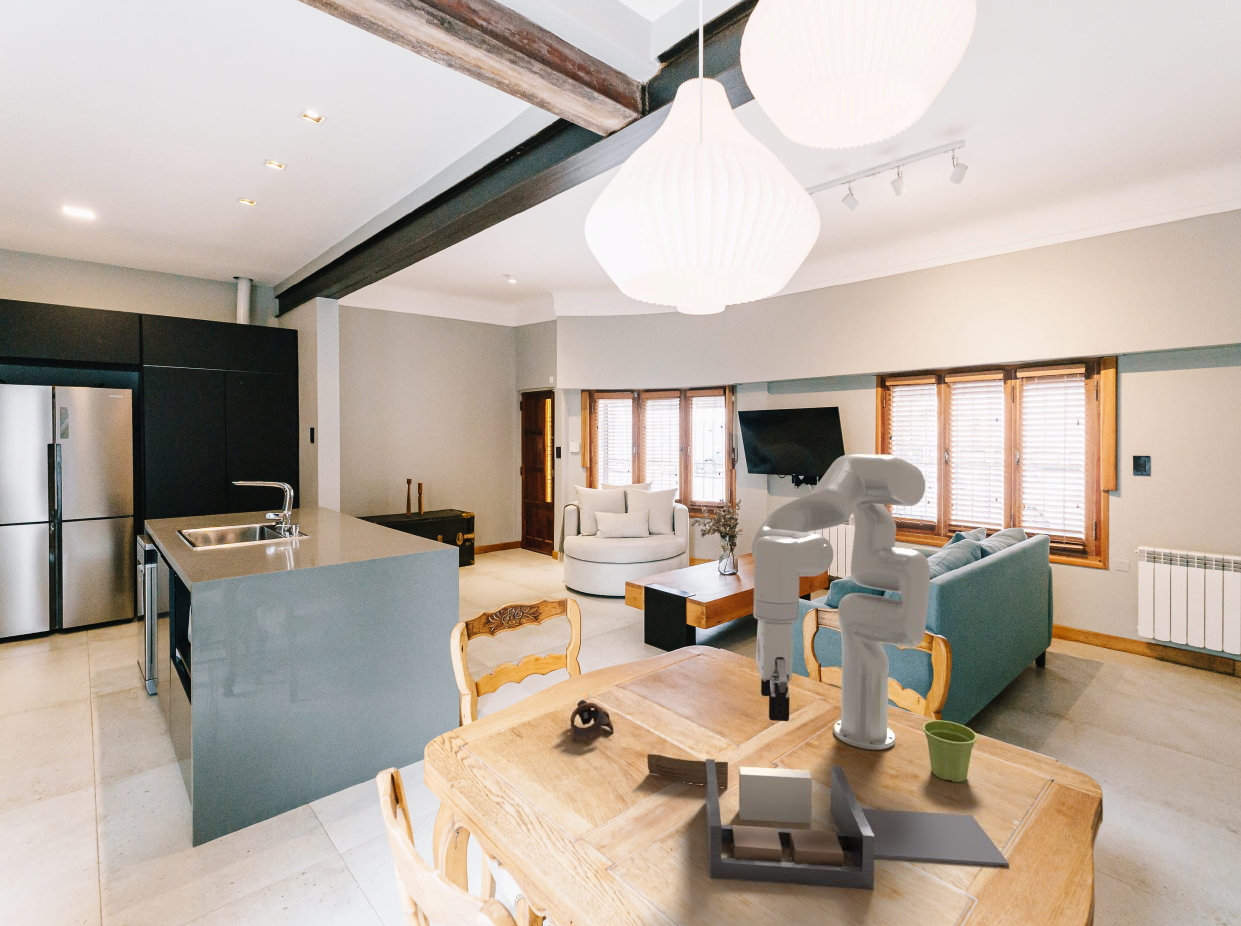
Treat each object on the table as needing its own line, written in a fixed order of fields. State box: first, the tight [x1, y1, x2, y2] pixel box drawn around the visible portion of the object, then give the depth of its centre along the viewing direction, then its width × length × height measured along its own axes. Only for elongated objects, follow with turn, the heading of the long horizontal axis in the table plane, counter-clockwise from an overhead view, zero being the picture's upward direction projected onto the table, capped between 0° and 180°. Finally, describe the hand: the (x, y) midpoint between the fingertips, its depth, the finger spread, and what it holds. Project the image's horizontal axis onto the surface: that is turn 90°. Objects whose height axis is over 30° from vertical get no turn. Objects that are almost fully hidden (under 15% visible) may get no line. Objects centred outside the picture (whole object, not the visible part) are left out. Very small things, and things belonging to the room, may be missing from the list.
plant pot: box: [922, 719, 978, 783], centre depth 119 cm, size 9×9×9 cm
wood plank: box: [646, 753, 729, 789], centre depth 116 cm, size 15×2×5 cm, turn 76°
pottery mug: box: [569, 699, 615, 742], centre depth 135 cm, size 12×10×8 cm
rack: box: [705, 758, 875, 890], centre depth 99 cm, size 19×24×8 cm
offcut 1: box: [731, 824, 783, 862], centre depth 94 cm, size 5×7×4 cm
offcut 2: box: [788, 828, 844, 866], centre depth 93 cm, size 5×7×4 cm
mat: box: [861, 808, 1010, 867], centre depth 100 cm, size 12×20×1 cm, turn 84°
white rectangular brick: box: [738, 766, 813, 824], centre depth 105 cm, size 2×12×8 cm, turn 84°
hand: (774, 707), depth 104 cm, fingers open, 9 cm apart
